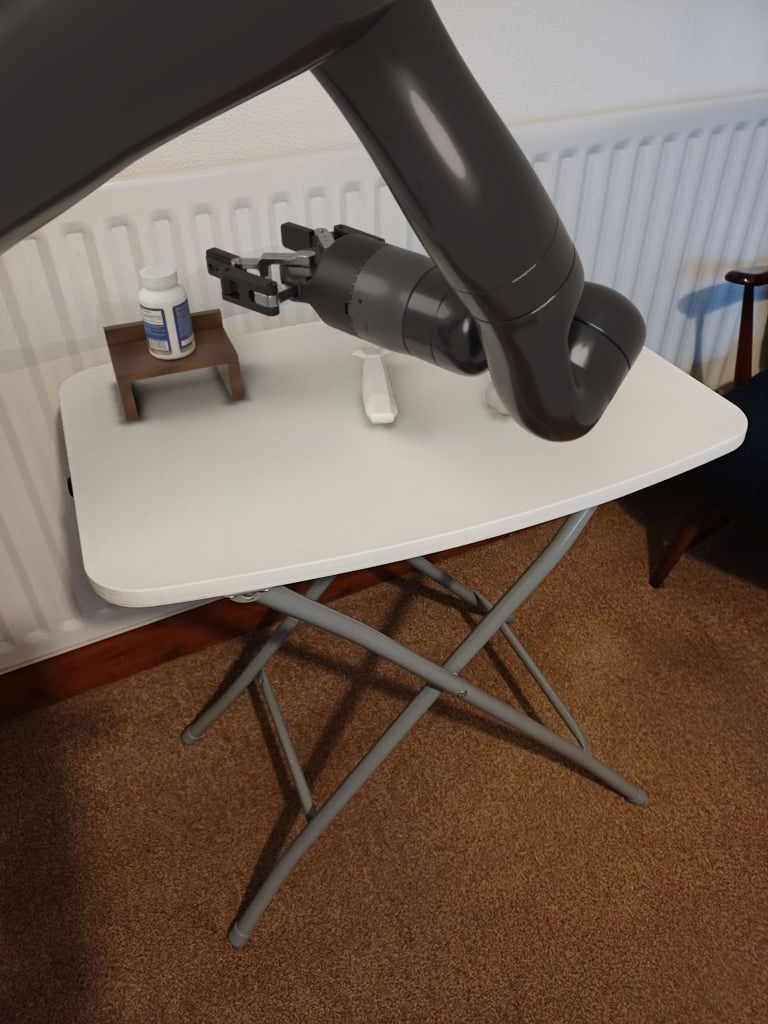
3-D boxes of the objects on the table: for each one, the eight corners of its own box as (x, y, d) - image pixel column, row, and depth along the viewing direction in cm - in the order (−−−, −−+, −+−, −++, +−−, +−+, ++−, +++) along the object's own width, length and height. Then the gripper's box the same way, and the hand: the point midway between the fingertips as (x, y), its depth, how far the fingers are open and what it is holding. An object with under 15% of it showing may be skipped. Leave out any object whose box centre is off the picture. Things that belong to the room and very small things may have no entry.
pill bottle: (189, 336, 96) (175, 258, 89) (201, 355, 92) (188, 274, 86) (145, 345, 94) (128, 266, 88) (155, 364, 90) (138, 283, 84)
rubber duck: (494, 425, 91) (500, 363, 86) (475, 397, 96) (479, 336, 91) (537, 418, 92) (546, 357, 87) (516, 391, 97) (523, 331, 92)
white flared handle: (358, 442, 88) (357, 412, 86) (351, 365, 102) (350, 338, 100) (407, 440, 88) (407, 410, 86) (393, 364, 102) (393, 336, 100)
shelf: (126, 421, 92) (111, 360, 87) (117, 386, 98) (102, 326, 93) (244, 398, 96) (236, 338, 91) (227, 365, 102) (219, 308, 97)
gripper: (445, 224, 63) (303, 183, 71) (319, 276, 54) (175, 223, 63) (440, 312, 67) (308, 264, 76) (324, 372, 59) (189, 312, 67)
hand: (248, 246), depth 69 cm, fingers open, 8 cm apart
